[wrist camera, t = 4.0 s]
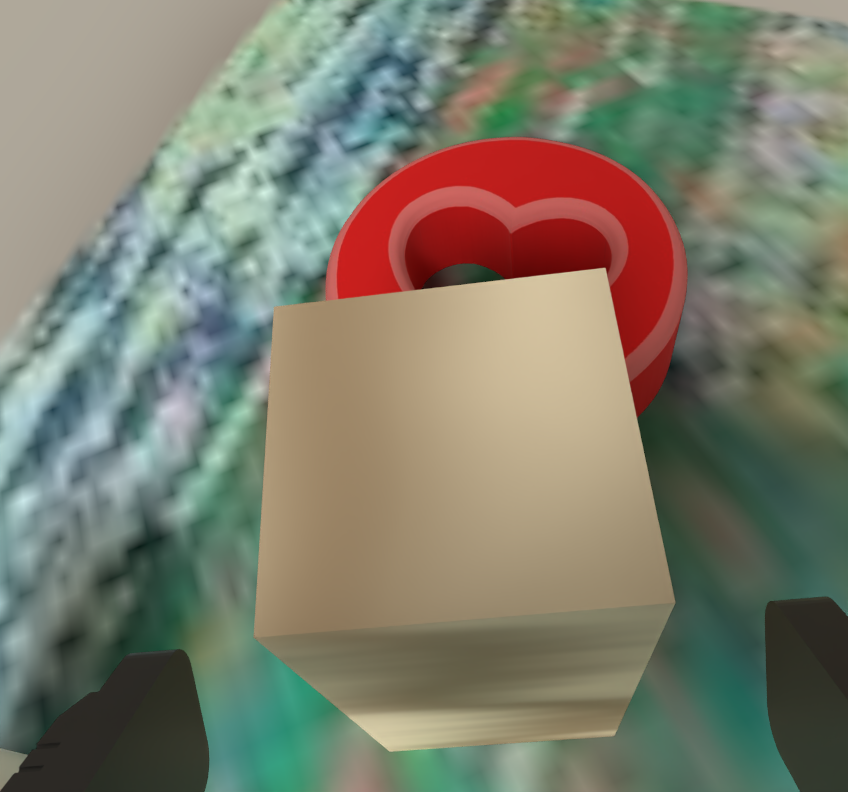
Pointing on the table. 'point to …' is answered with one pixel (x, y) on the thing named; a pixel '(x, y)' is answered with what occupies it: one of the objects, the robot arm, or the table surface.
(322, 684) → the beech block
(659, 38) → the table surface
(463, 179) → the decorative ornament
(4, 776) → the white cylinder
